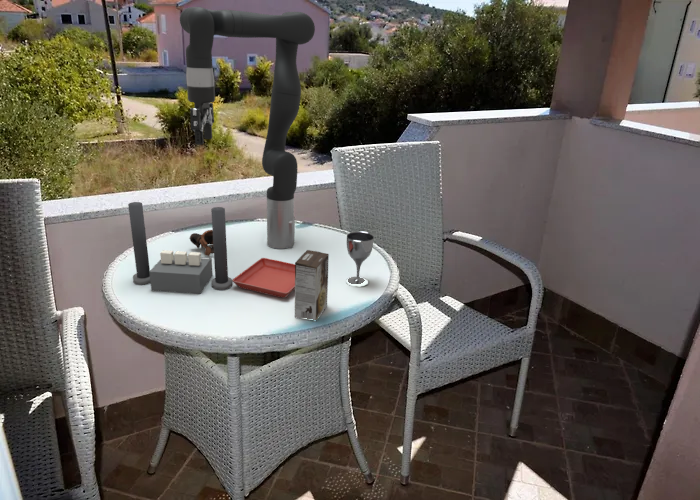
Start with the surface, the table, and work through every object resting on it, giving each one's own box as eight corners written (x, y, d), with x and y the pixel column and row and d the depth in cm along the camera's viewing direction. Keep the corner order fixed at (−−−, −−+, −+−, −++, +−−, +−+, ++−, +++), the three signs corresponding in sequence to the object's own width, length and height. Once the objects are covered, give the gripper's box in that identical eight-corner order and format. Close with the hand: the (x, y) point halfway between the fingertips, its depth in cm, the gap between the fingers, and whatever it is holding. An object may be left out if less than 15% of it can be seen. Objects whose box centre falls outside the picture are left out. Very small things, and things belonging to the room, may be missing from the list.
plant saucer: (287, 303, 144) (287, 292, 143) (231, 290, 150) (230, 279, 149) (313, 277, 160) (314, 268, 159) (262, 266, 166) (262, 257, 164)
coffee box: (306, 302, 145) (307, 249, 138) (327, 306, 143) (329, 252, 137) (293, 317, 137) (293, 262, 130) (316, 322, 135) (317, 266, 129)
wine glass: (373, 279, 160) (377, 234, 155) (365, 289, 153) (369, 243, 148) (349, 274, 163) (351, 229, 157) (340, 284, 156) (343, 238, 150)
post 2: (234, 281, 154) (231, 206, 145) (229, 290, 149) (226, 213, 140) (214, 280, 154) (210, 205, 145) (208, 289, 149) (203, 211, 140)
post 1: (158, 276, 155) (150, 201, 145) (150, 285, 149) (141, 208, 140) (138, 275, 155) (129, 200, 146) (129, 284, 149) (119, 206, 140)
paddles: (202, 262, 150) (201, 252, 149) (200, 265, 148) (199, 255, 147) (162, 260, 150) (161, 250, 149) (160, 263, 148) (159, 252, 147)
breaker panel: (212, 275, 157) (211, 256, 155) (200, 293, 146) (199, 274, 144) (167, 272, 157) (165, 253, 155) (151, 290, 146) (149, 270, 144)
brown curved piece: (226, 245, 180) (229, 230, 174) (220, 266, 174) (223, 251, 168) (191, 237, 178) (193, 221, 172) (183, 258, 172) (185, 242, 166)
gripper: (206, 87, 140) (209, 147, 147) (220, 82, 154) (223, 137, 160) (178, 86, 141) (183, 145, 147) (195, 81, 154) (199, 136, 160)
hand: (204, 141), depth 153 cm, fingers open, 8 cm apart
